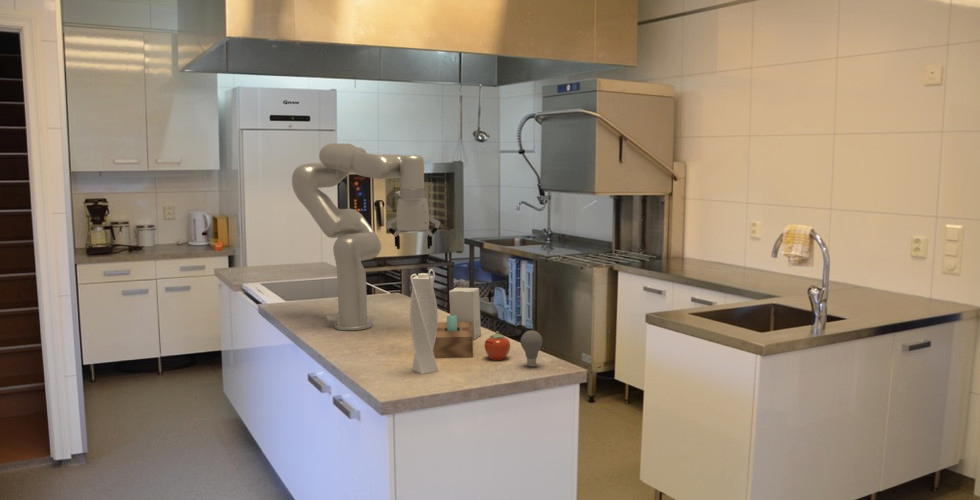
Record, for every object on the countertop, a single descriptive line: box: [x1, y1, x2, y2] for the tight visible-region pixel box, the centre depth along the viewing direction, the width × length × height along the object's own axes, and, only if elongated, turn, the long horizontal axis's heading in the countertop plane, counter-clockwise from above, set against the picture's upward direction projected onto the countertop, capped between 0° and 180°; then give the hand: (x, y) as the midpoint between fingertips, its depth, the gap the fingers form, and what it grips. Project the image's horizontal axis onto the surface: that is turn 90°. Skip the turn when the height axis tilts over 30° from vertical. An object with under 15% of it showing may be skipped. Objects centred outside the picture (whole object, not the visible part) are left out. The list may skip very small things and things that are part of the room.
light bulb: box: [520, 329, 543, 368], centre depth 216 cm, size 6×6×10 cm
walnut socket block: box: [433, 321, 474, 359], centre depth 237 cm, size 12×20×6 cm, turn 2°
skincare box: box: [448, 287, 482, 340], centre depth 251 cm, size 8×7×16 cm
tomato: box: [484, 330, 511, 361], centre depth 225 cm, size 7×7×8 cm
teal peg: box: [446, 314, 457, 331], centre depth 236 cm, size 3×3×10 cm
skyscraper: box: [409, 268, 439, 375], centre depth 212 cm, size 8×8×28 cm
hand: (413, 248), depth 251 cm, fingers open, 9 cm apart
